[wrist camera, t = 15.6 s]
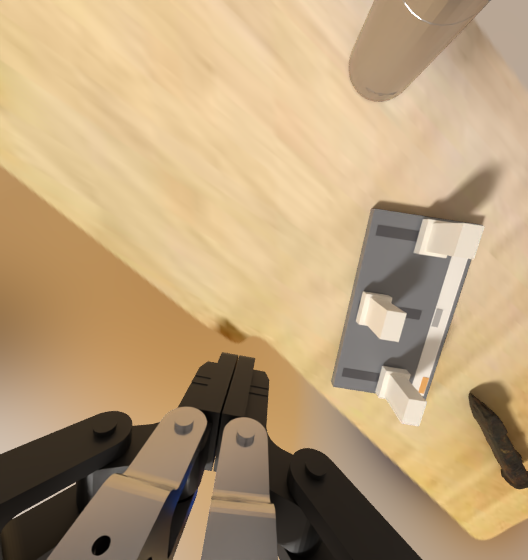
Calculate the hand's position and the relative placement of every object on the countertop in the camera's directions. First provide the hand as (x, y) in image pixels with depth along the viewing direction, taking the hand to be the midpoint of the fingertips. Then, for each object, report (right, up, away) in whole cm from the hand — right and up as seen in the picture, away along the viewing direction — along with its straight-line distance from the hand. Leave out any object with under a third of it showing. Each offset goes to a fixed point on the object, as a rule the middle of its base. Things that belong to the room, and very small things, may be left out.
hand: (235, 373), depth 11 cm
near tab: (+26, +10, +27) cm, 39 cm away
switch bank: (+23, -1, +31) cm, 39 cm away
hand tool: (+42, -24, +36) cm, 60 cm away
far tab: (+23, -13, +32) cm, 41 cm away
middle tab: (+18, 0, +29) cm, 35 cm away
